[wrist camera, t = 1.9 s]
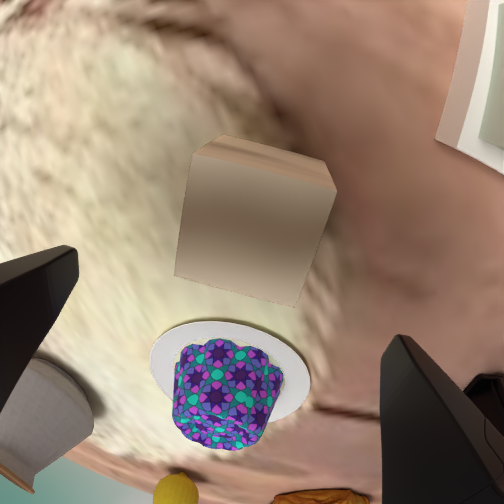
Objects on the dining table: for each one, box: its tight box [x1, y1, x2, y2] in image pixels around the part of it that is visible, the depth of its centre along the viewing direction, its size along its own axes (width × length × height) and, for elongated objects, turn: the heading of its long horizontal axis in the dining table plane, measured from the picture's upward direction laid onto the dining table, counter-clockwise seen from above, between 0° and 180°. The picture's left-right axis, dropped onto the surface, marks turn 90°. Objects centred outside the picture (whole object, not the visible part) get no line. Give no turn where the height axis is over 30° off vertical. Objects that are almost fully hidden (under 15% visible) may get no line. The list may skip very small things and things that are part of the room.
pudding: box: [149, 321, 310, 451], centre depth 21 cm, size 12×12×5 cm
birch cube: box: [174, 135, 337, 308], centre depth 14 cm, size 5×5×5 cm
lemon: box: [153, 472, 199, 504], centre depth 30 cm, size 6×6×8 cm
